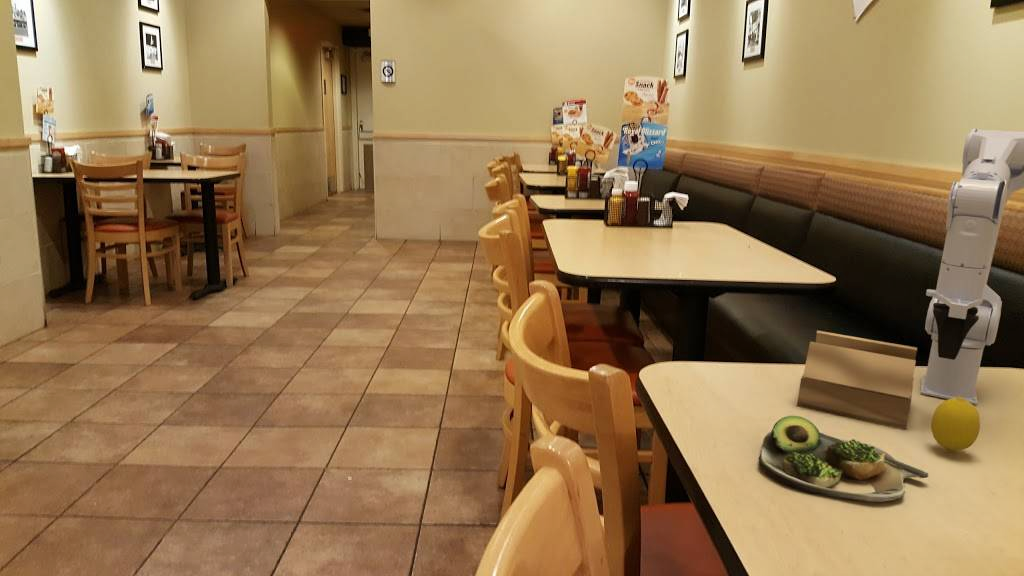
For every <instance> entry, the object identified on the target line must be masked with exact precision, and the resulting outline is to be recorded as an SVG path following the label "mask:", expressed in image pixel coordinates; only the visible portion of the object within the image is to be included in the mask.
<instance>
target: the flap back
mask: <svg viewBox="0 0 1024 576" xmlns="http://www.w3.org/2000/svg"><path fill="white" fill-rule="evenodd" d="M815 342H816V343H821V344H827V345H833V346H838V347H844V348H849V349H855V350H860V351H866V352H872V353H877V354H883V355H888V356H894V357H899V358H905V359H910V360H916V356H917V352H918V347H915V346H910V345H904V344H897V343H893V342H892V343H890V342H887V341H886V342H885V341H881V340H876V339H875V340H873V339H869V338H863V337H857V336H852V335H844V334H840V333H834V332H827V331H823V330H816V337H815Z"/></svg>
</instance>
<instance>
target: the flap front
mask: <svg viewBox="0 0 1024 576" xmlns="http://www.w3.org/2000/svg"><path fill="white" fill-rule="evenodd" d="M916 362H917V361H916V359H915V360H910V359H905V358H899V357H894V356H888V355H883V354H877V353H872V352H866V351H860V350H855V349H849V348H844V347H838V346H833V345H827V344H821V343H816V341H810V342H809V346H808V351H807V356H806V360H805V365H804V370H803V374H802V376H803V377H805V378H810V379H815V380H820V381H825V382H829V383H834V384H839V385H844V386H849V387H854V388H859V389H864V390H869V391H874V392H879V393H884V394H889V395H894V396H899V397H904V398H909V397H910V392H911V386H912V380H913V377H914V374H915V368H916ZM913 381H914V380H913Z"/></svg>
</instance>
